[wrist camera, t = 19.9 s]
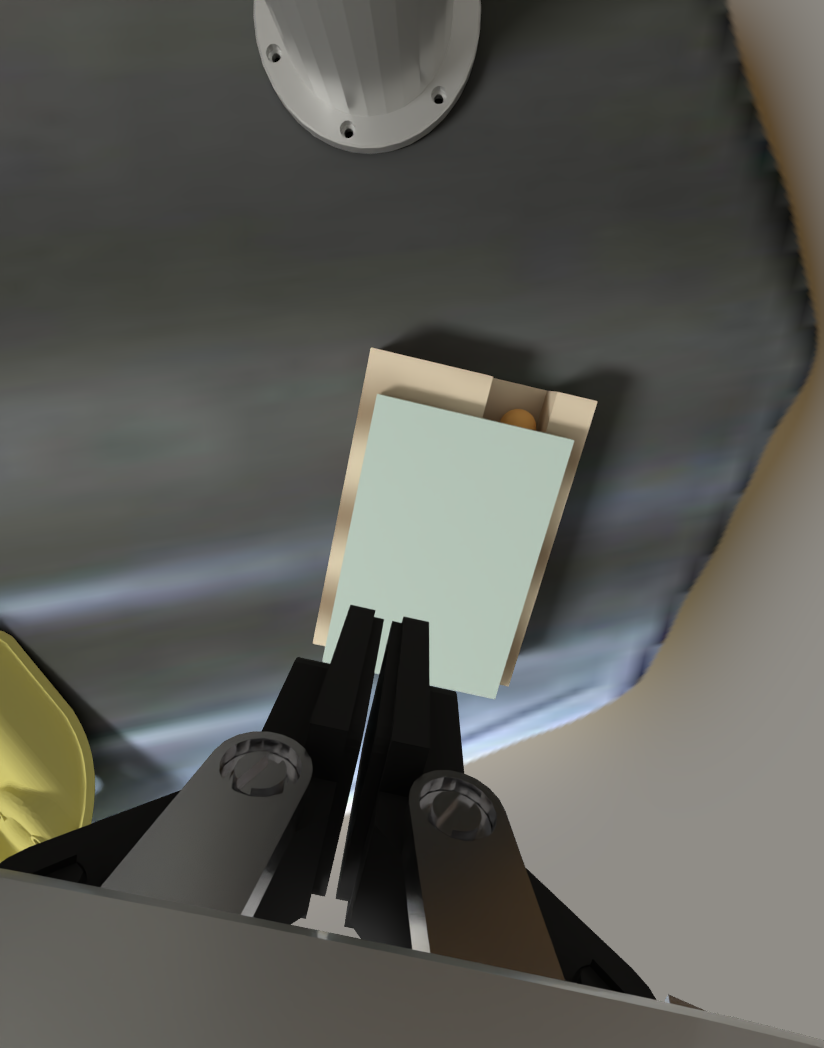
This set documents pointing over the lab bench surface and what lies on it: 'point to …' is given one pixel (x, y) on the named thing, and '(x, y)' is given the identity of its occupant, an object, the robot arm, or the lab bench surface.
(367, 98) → the robot arm
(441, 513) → the plate
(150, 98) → the lab bench surface
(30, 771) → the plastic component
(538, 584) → the base
